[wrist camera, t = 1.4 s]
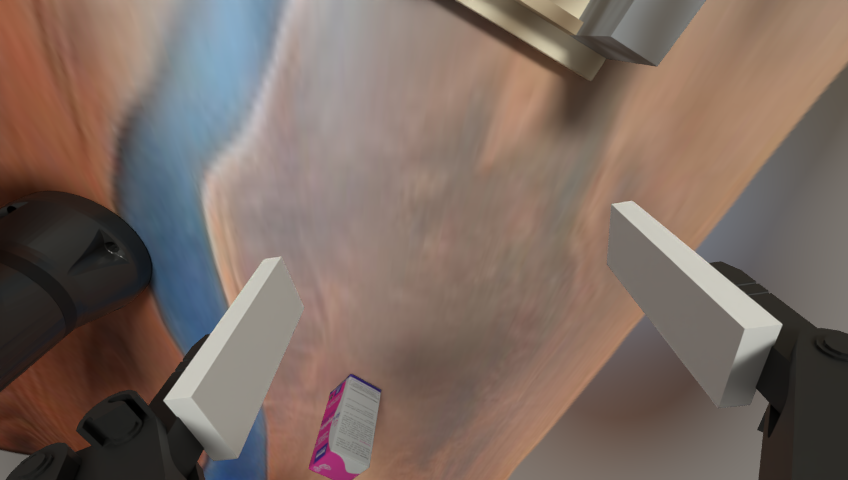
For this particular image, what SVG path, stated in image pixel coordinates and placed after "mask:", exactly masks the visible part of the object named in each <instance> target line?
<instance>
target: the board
mask: <svg viewBox="0 0 848 480" xmlns="http://www.w3.org/2000/svg"><path fill="white" fill-rule="evenodd" d="M455 1H457V2H459V3H460V4H462V5H464V6H465V7H467V8H469V9H470V10H472V11H473V12H475V13H477V14H478V15H480V16H482V17H483V18H485V19H487V20H488V21H490V22H492V23H493V24H495V25H497V26H498V27H500V28H502V29H503V30H505V31H507V32H508V33H510V34H512V35H513V36H515V37H517V38H518V39H520V40H522V41H523V42H525V43H527V44H528V45H530V46H531V47H533V48H535V49H536V50H538V51H540V52H541V53H543V54H545V55H546V56H548V57H550V58H551V59H553V60H555V61H556V62H558V63H560V64H561V65H563V66H565V67H566V68H568V69H570V70H571V71H573V72H575V73H576V74H578V75H580V76H581V77H583V78H585V79H586V80H589V81H592V80H593V78H594V77H595V75H596V74H597V72H598V71H599V69H600V68H601V66H602V65H603V63H604V62H605V60H606V59H611V60H618V61H625V62H631V63H638V64H644V65H651V66H658V65H659V63H660V62H661V61H662V59H663V58H664V57H665V55H666V54H667V53H668V51H669V50H670V49H671V47H672V46H673V45H674V43H675V42H676V40H677V39H678V38H679V36H680V35H681V34H682V32H683V31H684V30H685V28H686V27H687V26H688V24H689V23H690V21H691V20H692V19H693V17H694V16H695V15H696V13H697V12H698V11H699V9H700V8H701V7H702V5H703V4H704V2H705V1H706V0H455Z"/></svg>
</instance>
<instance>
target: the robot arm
mask: <svg viewBox="0 0 848 480" xmlns="http://www.w3.org/2000/svg"><path fill="white" fill-rule="evenodd" d="M607 265H608V266H609V268H610V269H611V270H612V272H613V273H614V274H615V276H616V277H617V278H618V279H619V281H620V282H621V283H622V285H623V286H624V287H625V288H626V290H627V291H628V292H629V294H630V295H631V296H632V298H633V299H634V300H635V301H636V303H637V304H638V305H639V307H640V308H641V309H642V310H643V312H644V313H645V314H646V316H647V317H648V318H649V319H650V321H651V322H652V323H653V325H654V326H655V327H656V329H657V330H658V331H659V332H660V334H661V335H662V336H663V338H664V339H665V340H666V341H667V343H668V344H669V345H670V347H671V348H672V349H673V350H674V352H675V353H676V354H677V356H678V357H679V358H680V359H681V361H682V362H683V363H684V365H685V366H686V367H687V369H688V370H689V371H690V372H691V374H692V375H693V376H694V378H695V379H696V380H697V382H698V383H699V384H700V385H701V387H702V388H703V389H704V391H705V392H706V393H707V394H708V396H709V397H710V398H711V400H712V401H713V402H714V403H715V405H716V406H717V407H718V408H726V407H736V406H745V405H750V404H751V402H752V399H753V396H754V394H755V392H756V389H757V390H758V391H759V392H760V393H761V394H762V395H763V396H764V397H765V398H766V399H767V401H768V402H769V405H768V407H767V409H766V411H765V413H764V416H763V418H762V420H761V423H760V425H759V427H758V430H759V431H761V432H763V441H762V450H761V460H760V470H759V480H848V334H847V333H844V332H841V331H837V330H831V329H824V328H816V327H815V326H814V325H813V324H811V323H810V322H808V321H807V320H806V319H804V318H803V317H802V316H801V315H799V314H798V313H796V312H795V311H794V310H793V309H791V308H790V307H789V306H787V305H786V304H785V303H784V302H782V301H781V300H779V299H778V298H777V297H776V296H774V295H773V294H772V293H770V294H769V293H768V290H766V289H765V288H764V287H763V286H761V285H760V284H756V281H755V280H753V279H752V278H751V277H749V276H748V275H747V274H745V273H744V272H743V271H741V270H740V269H737V268H735V267H733V266H730V265H728V264H726V263H723V262H713V263H708V262H706V261H705V260H704V259H703V258H701V257H700V256H699V255H698V254H697V253H695V252H694V251H693V250H692V249H691V248H689V247H688V246H687V245H686V244H684V243H683V242H682V241H681V240H680V239H678V238H677V237H676V236H675V235H673V234H672V233H671V232H670V231H669V230H667V229H666V228H665V227H664V226H663V225H661V224H660V223H659V222H658V221H656V220H655V219H654V218H653V217H652V216H650V215H649V214H648V213H647V212H646V211H644V210H643V209H642V208H641V207H639V206H638V205H637V204H636V203H635V202H633V201H628V202H622V203H615V204H611V216H610V229H609V242H608V255H607ZM150 277H151V262H150V258H149V255H148V253H147V250H146V248H145V246H144V245H143V243H142V241H141V240H140V238H139V237H138V236H137V234H136V233H135V232H134V231H133V230H132V229H131V228H130V227H129V226H128V225H127V224H126V223H125V222H124V221H123V220H122V219H120V218H119V217H118V216H117V215H115V214H114V213H112V212H111V211H109V210H108V209H106V208H105V207H103V206H101V205H99V204H97V203H95V202H93V201H91V200H89V199H86V198H83V197H81V196H77V195H74V194H70V193H65V192H58V191H43V192H36V193H33V194H30V195H27V196H25V197H22V198H20V199H18V200H15V201H13V202H11V203H9V204H7V205H5V206H4V207H2V208H1V209H0V392H1V391H2V390H3V389H5V388H6V387H7V386H8V385H9V384H11V383H12V382H13V381H14V380H15V379H16V378H18V377H19V376H20V375H21V374H22V373H23V372H25V371H26V370H27V369H28V368H29V367H30V366H32V365H33V364H34V363H35V362H36V361H37V360H39V359H40V358H41V357H42V356H43V355H44V354H46V353H47V352H48V351H49V350H50V349H51V348H53V347H54V346H55V345H56V344H57V343H58V342H59V341H61V340H62V339H63V338H64V337H65V336H67V335H68V334H69V333H70V332H71V331H73V330H74V329H75V328H77V327H79V326H82V325H84V324H86V323H88V322H91V321H93V320H95V319H97V318H99V317H102V316H104V315H106V314H108V313H110V312H112V311H114V310H118V309H120V308H122V307H124V306H125V305H127V304H128V303H130V302H131V301H132V300H133V299H135V298H136V297H137V296H138V295H139V294H140V293H141V292H142V291H143V290H144V289H145V288H146V286H147V285H148V283H149V281H150ZM303 310H304V306H303V303H302V301H301V299H300V297H299V294H298V292H297V290H296V288H295V285H294V283H293V281H292V279H291V277H290V274H289V272H288V270H287V268H286V265H285V263H284V261H283V259H282V256H281V257H275V258H269V259H264V260H263V261H262V263H261V264H260V266H259V267H258V268H257V270H256V271H255V273H254V274H253V275H252V277H251V278H250V280H249V281H248V282H247V284H246V285H245V287H244V288H243V289H242V291H241V292H240V294H239V295H238V296H237V298H236V299H235V301H234V302H233V303H232V305H231V306H230V308H229V309H228V310H227V312H226V313H225V315H224V316H223V317H222V319H221V320H220V322H219V323H218V324H217V326H216V327H215V329H214V330H213V331H212V333H211V334H207V335H205V336H204V337H203V338H202V339H200V340H199V341H198V342H197V343H196V344H195V345H194V346H192V348H191V349H190V350H189V352H188V353H187V354H186V356H185V357H184V358H183V362H180V364H179V365H178V366H177V368H176V369H175V372H174V373H172V375H171V376H170V377H169V379H168V380H167V381H166V383H165V384H164V385H163V387H162V388H161V389H160V391H159V392H158V393H157V395H156V396H155V397H154V399H153V400H152V401H151V403H150V404H149V405H147V404H146V402H145V401H144V400H143V399H142V398H141V397H140V396H139V394H138V393H137V392H136V391H133V390H126V391H121V392H118V393H116V394H114V395H111V396H109V397H107V398H106V399H104V400H103V401H101V402H100V403H98V404H97V405H96V406H94V407H93V408H92V409H91V410H90V411H89V412H88V413H86V415H85V416H84V417H83V419H82V420H81V421H80V422H79V425H78V427H77V430H76V431H77V432H78V433H79V434H80V435H81V436H82V437H83V438H84V439H85V440H86V441H88V442H89V443H90V444H91V445H92V446H90V447H87V448H85V449H82V450H79V451H77V452H75V451H73V450H72V449H71V448H70V447H69V446H68V445H67V444H65V443H55V444H52V445H49V446H46V447H44V448H42V449H41V450H39V451H37V452H35V453H33V454H32V455H30V456H29V457H28V458H26V459H25V460H23V461H22V462H21V463H20V464H19V465H18V466H17V467H16V468H15V469H14V470H13V471H12V472H11V473H10V474H9V476H8V477H7V479H6V480H205V477H204V473H203V470H202V468H201V466H200V465H199V463H198V462H197V461H198V459H199V457H200V455H201V453H202V451H203V449H204V450H205V452H206V453H207V454H208V455H209V456H210V458H211V459H212V460H213V461H218V460H227V459H237V458H238V457H239V455H240V452H241V450H242V448H243V446H244V443H245V441H246V439H247V437H248V434H249V432H250V430H251V428H252V425H253V423H254V421H255V418H256V416H257V414H258V412H259V409H260V407H261V405H262V403H263V400H264V398H265V396H266V394H267V391H268V389H269V387H270V385H271V382H272V380H273V378H274V375H275V373H276V371H277V369H278V366H279V364H280V362H281V360H282V357H283V355H284V353H285V351H286V348H287V346H288V344H289V342H290V339H291V337H292V335H293V332H294V330H295V328H296V326H297V323H298V321H299V319H300V317H301V314H302V312H303Z"/></svg>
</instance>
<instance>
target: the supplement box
mask: <svg viewBox="0 0 848 480" xmlns="http://www.w3.org/2000/svg"><path fill="white" fill-rule="evenodd" d="M380 395H381V389H379V388H377V387H376V386H374V385H372V384H370V383H368V382H366V381H364V380H362V379H361V378H359V377H357V376H355V375H353V374H350V375H349V376H348V377H347V378H346V379H345V380H344V381H343V382H342V383H341V384H340V385H339V386H338V387H337V388H336V389H334V390H333V391H332V392H331V393H330V396H329V400H328V403H327V407H326V410H325V414H324V417H323V421H322V424H321V427H320V431H319V434H318V438H317V441H316V444H315V448H314V451H313V455H312V458H311V461H310V465H309V469H310V470H312V471H314V472H316V473H319V474H321V475H323V476H326V477H328V478H330V479H332V480H352V479H354V478H355V477H356V476H358V475H359V474H361V473H362V472H363V471H365V470H366V469H367V468H369V467H370V460H371V453H372V447H373V440H374V434H375V427H376V421H377V414H378V408H379V401H380Z"/></svg>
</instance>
